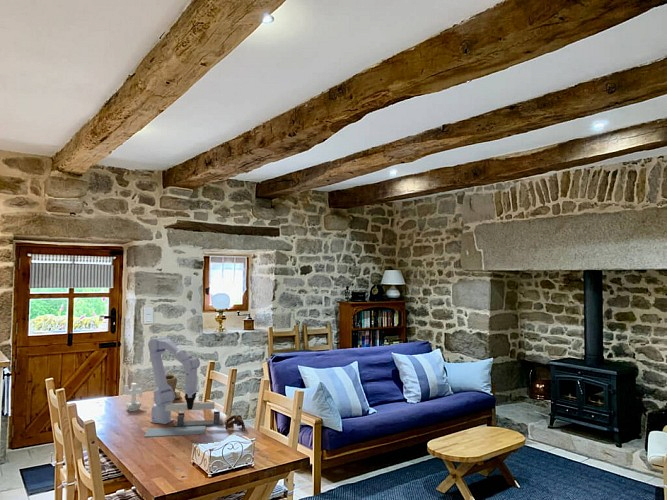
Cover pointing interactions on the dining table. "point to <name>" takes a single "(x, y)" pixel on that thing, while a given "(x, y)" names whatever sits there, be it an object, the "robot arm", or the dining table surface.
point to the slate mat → (175, 431)
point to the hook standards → (198, 423)
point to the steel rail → (184, 406)
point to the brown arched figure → (235, 422)
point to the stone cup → (172, 384)
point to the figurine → (133, 397)
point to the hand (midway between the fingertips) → (190, 408)
